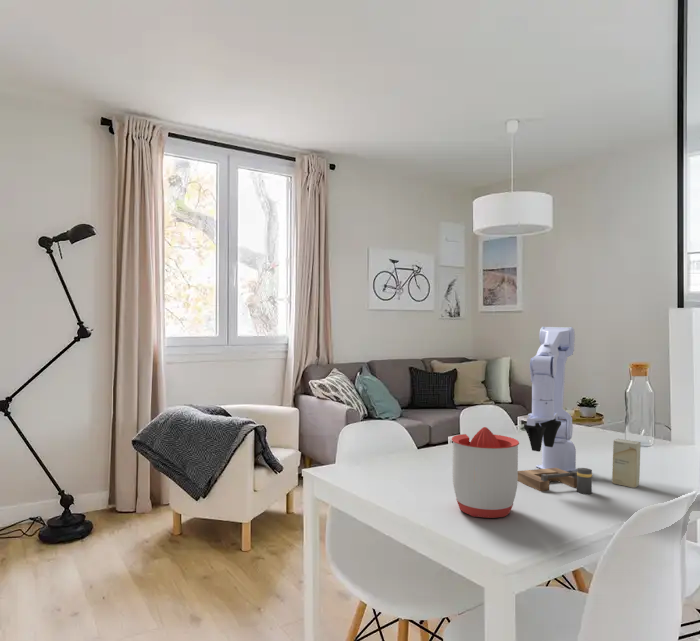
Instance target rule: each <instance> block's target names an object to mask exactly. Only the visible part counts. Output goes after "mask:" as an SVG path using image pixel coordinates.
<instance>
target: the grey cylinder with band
mask: <svg viewBox="0 0 700 641" xmlns="http://www.w3.org/2000/svg"><path fill="white" fill-rule="evenodd" d="M576 469H577V471H576V472H577V487H576V492H577V493H579V494H583V495H591V494H593V490H592V489H593V486H592V484H593V469H590V468H588V467H578V468H576Z"/></svg>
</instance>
